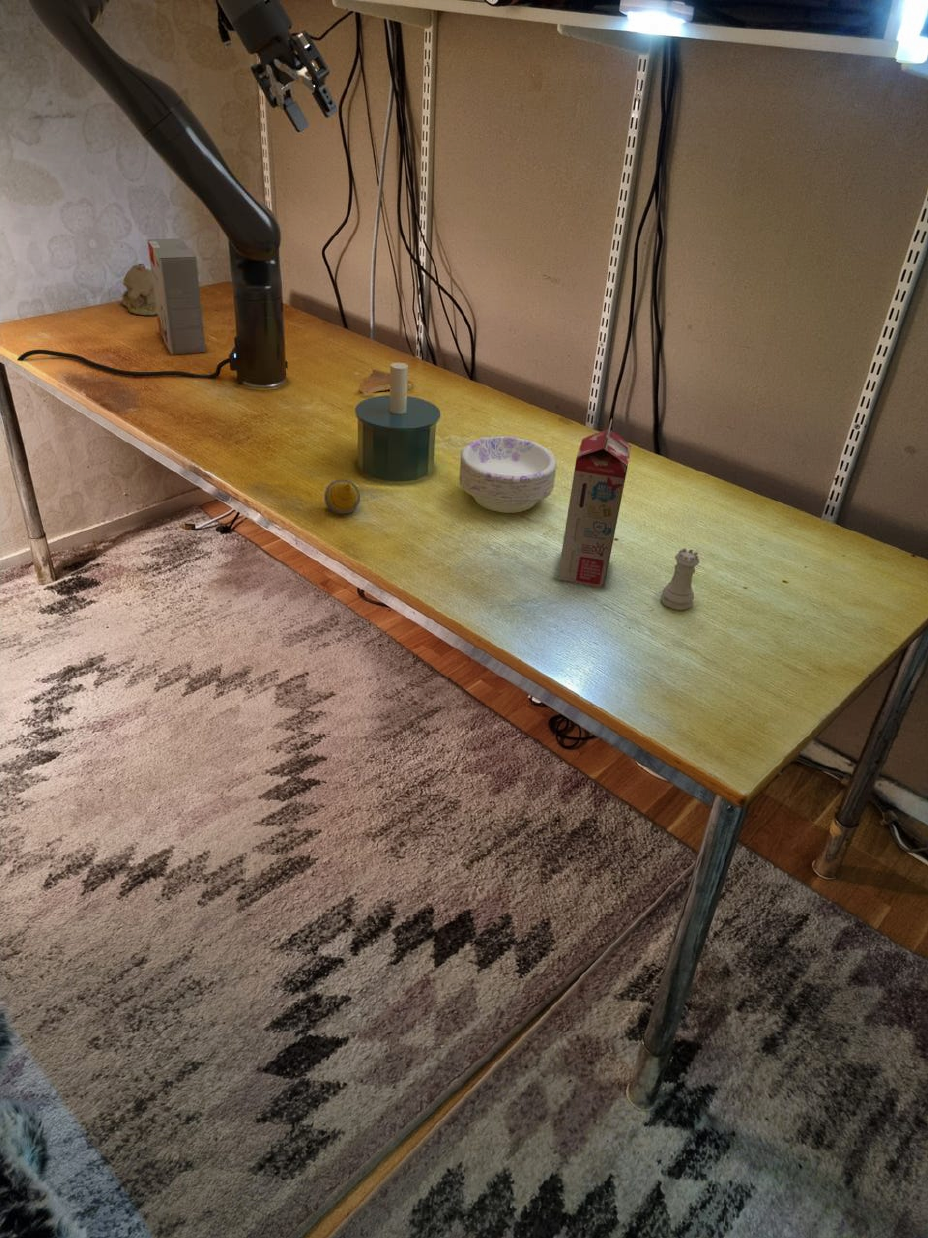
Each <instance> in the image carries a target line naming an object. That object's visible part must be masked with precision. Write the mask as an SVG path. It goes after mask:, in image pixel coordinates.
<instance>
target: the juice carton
mask: <svg viewBox="0 0 928 1238" xmlns="http://www.w3.org/2000/svg"><path fill="white" fill-rule="evenodd" d="M612 422H613V418H610V421H609V424H608V428H607V430H603V431H600V432H596V433H594V434H590V435H587V436H585V437H583V438H581V442H580V445H579V449H578V451H577V454H576V457H575V459H576V460H575V466H574V471H573V477H572V482H571V483H572V484H571V490H570V497H569V503H568V509H567V515H566V521H565V527H564V528H565V529H564V534H563V535H564V536H563V540H562V547H561V552H560V553H561V555H560V560H559V565H558V566H559V567H558V572H557V577H556V578H557V579H556V580H558V581H563V582H564V581H565V582H568V583H569V582H570V583H573V584H574V583H576V584H580V585H584V586H585V585H586V586H592V587H597V588H601V589H602V588H603V589H605V585H606V579H607V574H608V569H609V565H610V564H609V563H610V558H611V553H612V548H613V543H614V539H615V534H616V529H617V524H618V517H619V512H620V507H621V502H622V498H623V493H624V487H625V483H626V479H627V472H628V467H629V462H630V456H631V450H632V445H631V444H630V443H629V442H628V441H626V440H625V439H623V438H622V437H620V436H619V435H618V434H616V433H615V432H614V431H612V430H611V428H612V424H613V423H612Z"/></svg>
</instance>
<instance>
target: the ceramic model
mask: <svg viewBox="0 0 928 1238" xmlns="http://www.w3.org/2000/svg"><path fill="white" fill-rule="evenodd" d="M123 286H124V287H125V288H126V290H124V291H123V293H122V296H121V297H122V303H121V304H122V306H125V307H126V308H127V309H128V311H129V312H130V313H132V314H136V315H143V316H157V311H156V304H155V296H154V288H153V280H152V272H151V269H149V268H146V265H145V264H144V263H138V264H134V265H132V267H131V268H130V269H128V270H127V272H126V274H125V275H124V278H123Z"/></svg>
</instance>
